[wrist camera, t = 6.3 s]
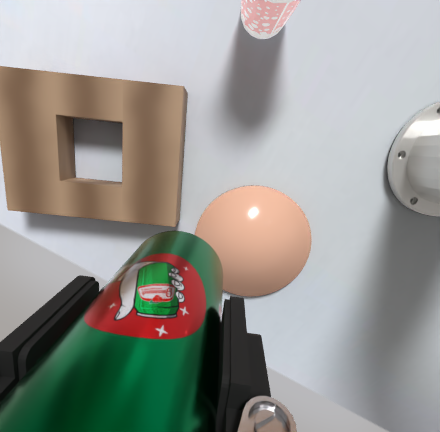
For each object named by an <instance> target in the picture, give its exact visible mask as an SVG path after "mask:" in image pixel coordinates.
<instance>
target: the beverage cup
mask: <svg viewBox="0 0 440 432" xmlns="http://www.w3.org/2000/svg"><path fill="white" fill-rule="evenodd" d="M300 1H301V0H241V20H242V23H243V25H244V28H245V29H246V30H247V32H248V33H249V34H250V35H251V36H253V37H256V38H258V39H269V38H271V37H273V36H275V35H276V34H277V33H278V32H279V31H280V30H281V29H282V28H283V26H284V25H285V23H286V22H287V20H288V19H289V17H290V16H291V14H292V13H293V11H294V10H295V8H296V7H297V5H298V4H299V2H300Z"/></svg>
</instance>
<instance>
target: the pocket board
mask: <svg viewBox="0 0 440 432" xmlns="http://www.w3.org/2000/svg"><path fill="white" fill-rule="evenodd" d="M187 95H188V93H187V91H186V89H185V88H184V86H176V85H167V84H158V83H149V82H140V81H131V80H121V79H112V78H103V77H94V76H85V75H76V74H67V73H58V72H49V71H40V70H31V69H21V68H12V67H3V66H0V146H1V155H2V164H3V173H4V181H5V190H6V199H7V208H8V210H11V211H21V212H31V213H41V214H51V215H61V216H71V217H81V218H91V219H102V220H112V221H122V222H132V223H142V224H152V225H162V226H172V227H175V226H176V225H177V223H178V221H179V220H180V205H181V189H182V174H183V158H184V142H185V127H186V111H187ZM73 118H78V119H87V120H97V121H106V122H115V123H123V141H122V182H113V181H103V180H94V179H84V178H76V175H75V152H74V128H73Z"/></svg>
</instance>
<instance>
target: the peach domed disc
mask: <svg viewBox="0 0 440 432" xmlns="http://www.w3.org/2000/svg"><path fill="white" fill-rule="evenodd" d="M195 236H198V237H199V238H201V239H203V240H204V241H205V242H207V243H208V244H209V245H210V246H211V247H212V248H213V249H214V250H215V252H216V253H217V255H218V257H219V259H220V261H221V264H222V268H223V290H225V291H227V292H229V293H232V294H236V295H241V296H261V295H266V294H270V293H273V292H275V291H277V290H280V289H281V288H283V287H285V286H286V285H288V284H289V283H290V282H292V281H293V280H294V279H295V278H296V277H297V276H298V274H299V273H300V272H301V271H302V269H303V267H304V266H305V264H306V262H307V259H308V257H309V253H310V249H311V231H310V227H309V223H308V221H307V218H306V216H305V214H304V213H303V211H302V210H301V208H300V207H299V206H298V205H297V204H296V203H295V202H294V201H293V200H292V199H291V198H289V197H288V196H286V195H285V194H283V193H282V192H280V191H277V190H275V189H272V188H269V187H264V186H254V185H251V186H243V187H238V188H235V189H232V190H229V191H227V192H225V193H223V194H222V195H220V196H219V197H217V198H216V199H215V200H214V201H213V202H211V203H210V204H209V206H208V207H207V208H206V209H205V211H204V212H203V214H202V215H201V217H200V219H199V222H198V224H197V228H196V231H195Z"/></svg>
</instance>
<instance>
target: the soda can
mask: <svg viewBox="0 0 440 432" xmlns="http://www.w3.org/2000/svg"><path fill="white" fill-rule="evenodd" d="M222 292H223V268H222V264H221V261H220V259H219V257H218V255H217V253H216V252H215V250H214V249H213V248H212V247H211V246H210V245H209V244H208V243H207V242H205V241H204V240H203V239H201V238H199V237H198V236H195V235H193V234H190V233H187V232H182V231H167V232H162V233H159V234H156V235H154V236H152V237H150V238H149V239H147V240H146V241H145V242H144V243H142V244H141V246H140V247H139V248H138V249H137V250H136V251H135V252H134V253H133V255H132V256H131V257H130V258H129V259H128V260H127V261H126V262H125V263H124V265H123V266H122V267H121V268H120V269H119V270H118V271H117V272H116V274H115V275H114V276H113V277H112V278H111V279H110V280H109V281H108V283H107V284H106V285H105V286H104V287H103V288H102V289H101V290H100V291H99V293H98V294H97V295H96V296H95V297H94V298H93V299H92V300H91V302H90V303H89V304H88V305H87V306H86V307H85V308H84V309H83V310H82V312H81V313H80V314H79V315H78V316H77V317H76V318H75V319H74V321H73V322H72V323H71V324H70V325H69V326H68V327H67V328H66V330H65V331H64V332H63V333H62V334H61V335H60V336H59V337H58V338H57V340H56V341H55V342H54V343H53V344H52V345H51V346H50V347H49V349H48V350H47V351H46V352H45V353H44V354H43V355H42V356H41V358H40V359H39V360H38V361H37V362H36V363H35V364H34V365H33V366H32V368H31V369H30V370H29V371H28V372H27V373H26V374H25V375H24V377H23V378H22V379H21V380H20V381H19V382H18V383H17V384H16V386H15V387H14V388H13V389H12V390H11V391H10V392H9V393H8V394H7V396H6V397H5V398H4V399H3V400H2V401H1V402H0V432H216V419H217V395H218V376H219V356H220V334H221V313H222Z"/></svg>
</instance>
